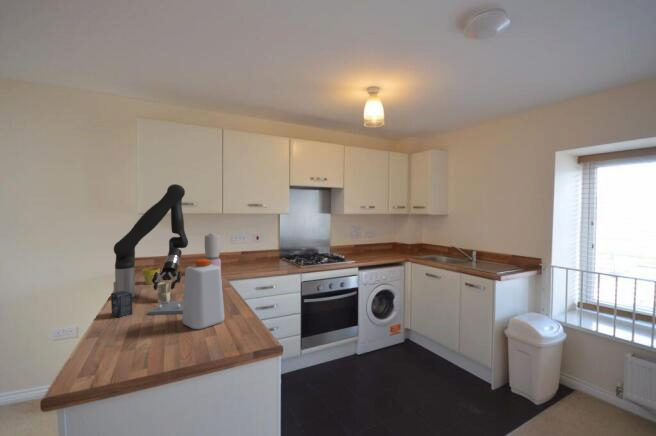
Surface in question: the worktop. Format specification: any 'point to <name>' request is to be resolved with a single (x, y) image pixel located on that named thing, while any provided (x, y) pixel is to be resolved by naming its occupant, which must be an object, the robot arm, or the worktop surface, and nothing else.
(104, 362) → the worktop surface
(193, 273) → the plastic bottle
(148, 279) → the plant pot
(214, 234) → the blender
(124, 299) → the box
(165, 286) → the birch block
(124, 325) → the worktop surface
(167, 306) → the locating plate
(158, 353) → the worktop surface
